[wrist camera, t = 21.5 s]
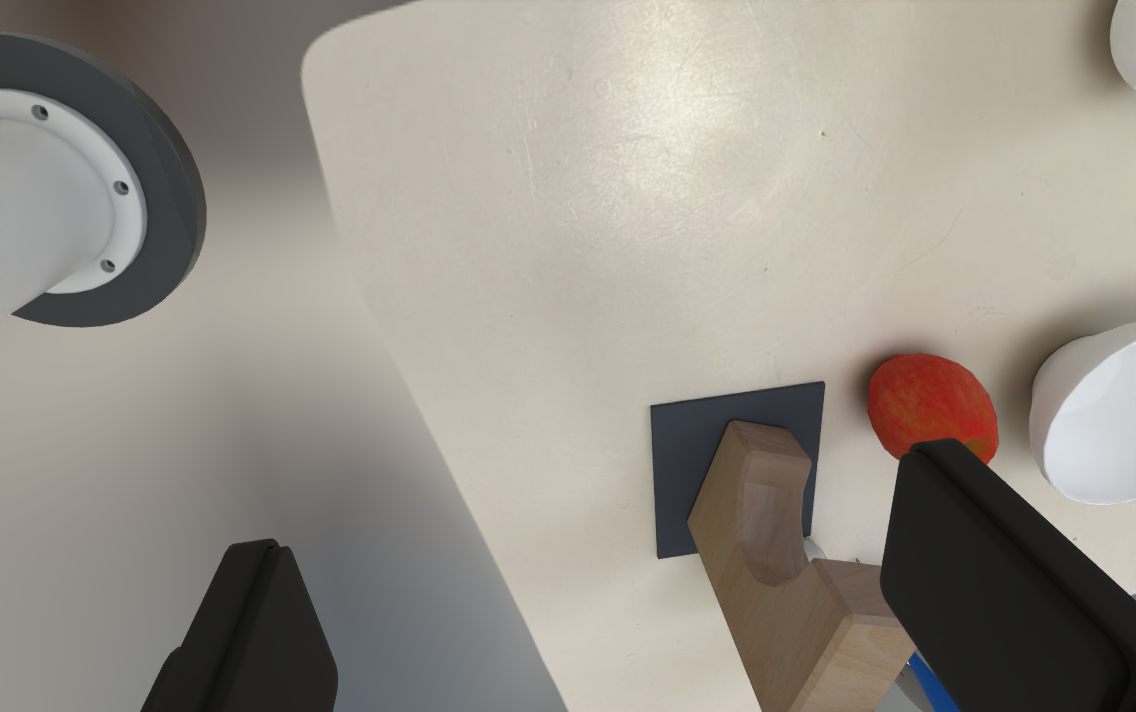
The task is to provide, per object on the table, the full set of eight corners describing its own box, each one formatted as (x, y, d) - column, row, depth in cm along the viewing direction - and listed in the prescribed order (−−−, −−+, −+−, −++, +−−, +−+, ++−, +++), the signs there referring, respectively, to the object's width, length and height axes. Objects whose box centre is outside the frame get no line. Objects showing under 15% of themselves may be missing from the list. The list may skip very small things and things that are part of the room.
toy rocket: (849, 555, 63) (1046, 852, 41) (949, 525, 62) (1203, 807, 40) (859, 629, 68) (1039, 928, 46) (951, 601, 67) (1178, 890, 45)
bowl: (1207, 341, 56) (1297, 382, 50) (1059, 479, 61) (1124, 532, 55) (1094, 250, 51) (1179, 284, 44) (943, 410, 56) (1000, 460, 50)
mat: (657, 556, 60) (658, 559, 60) (650, 405, 53) (651, 408, 52) (808, 532, 61) (810, 535, 61) (823, 381, 53) (825, 383, 53)
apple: (824, 390, 54) (896, 472, 44) (905, 316, 51) (999, 385, 42) (883, 440, 57) (963, 526, 47) (962, 372, 55) (1063, 448, 45)
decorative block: (729, 415, 53) (851, 616, 36) (792, 427, 55) (940, 627, 37) (682, 522, 58) (769, 746, 40) (741, 530, 59) (850, 752, 42)
